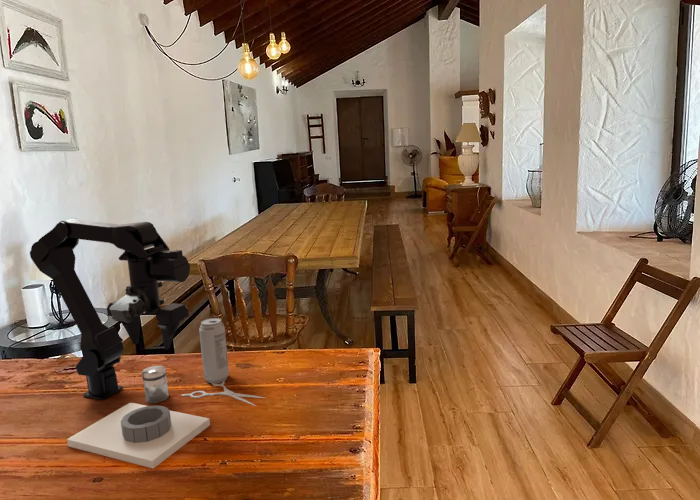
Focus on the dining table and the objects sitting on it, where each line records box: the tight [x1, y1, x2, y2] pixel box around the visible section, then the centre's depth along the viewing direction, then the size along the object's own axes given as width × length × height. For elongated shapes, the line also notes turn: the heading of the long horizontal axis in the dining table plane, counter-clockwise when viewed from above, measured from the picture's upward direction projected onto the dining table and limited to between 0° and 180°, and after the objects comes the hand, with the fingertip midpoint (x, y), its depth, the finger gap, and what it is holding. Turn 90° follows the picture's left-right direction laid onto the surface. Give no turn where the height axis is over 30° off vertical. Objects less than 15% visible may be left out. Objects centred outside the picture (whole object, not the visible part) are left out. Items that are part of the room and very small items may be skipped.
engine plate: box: [66, 402, 211, 469], centre depth 107 cm, size 22×16×4 cm
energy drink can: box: [198, 317, 230, 384], centre depth 131 cm, size 6×6×15 cm
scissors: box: [180, 380, 265, 407], centre depth 124 cm, size 11×1×20 cm
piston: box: [141, 365, 169, 404], centre depth 123 cm, size 5×5×7 cm
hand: (151, 346), depth 121 cm, fingers open, 9 cm apart
